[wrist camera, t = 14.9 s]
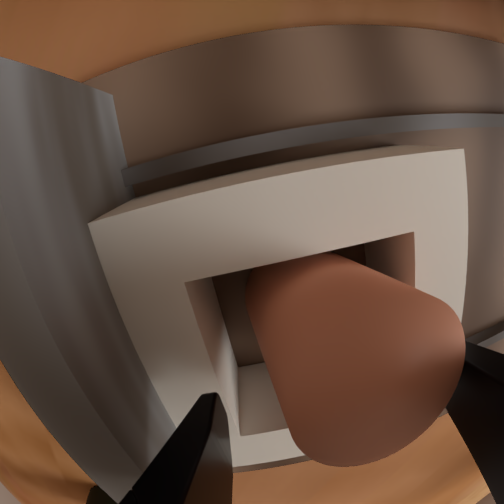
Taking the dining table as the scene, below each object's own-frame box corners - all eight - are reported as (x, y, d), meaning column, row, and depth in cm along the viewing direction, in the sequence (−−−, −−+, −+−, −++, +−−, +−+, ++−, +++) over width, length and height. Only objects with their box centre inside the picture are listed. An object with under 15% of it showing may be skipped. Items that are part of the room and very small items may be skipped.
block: (398, 144, 11) (463, 148, 7) (405, 356, 14) (442, 409, 10) (134, 198, 11) (87, 223, 7) (207, 403, 14) (202, 469, 10)
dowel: (336, 231, 12) (468, 266, 5) (350, 326, 13) (455, 420, 6) (233, 256, 11) (267, 334, 5) (257, 353, 12) (302, 487, 5)
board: (515, 53, 10) (619, 43, 2) (506, 367, 17) (564, 430, 9) (59, 103, 10) (-90, 87, 3) (196, 462, 17) (189, 566, 10)
